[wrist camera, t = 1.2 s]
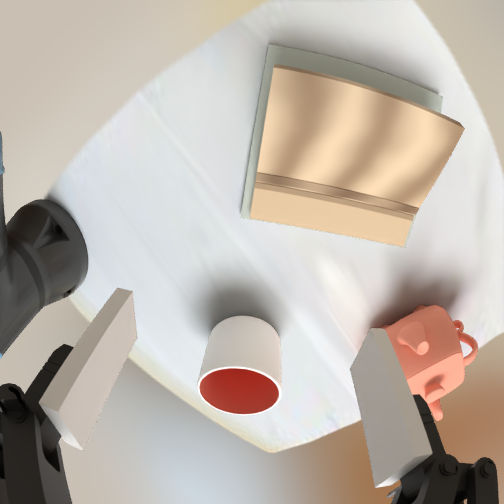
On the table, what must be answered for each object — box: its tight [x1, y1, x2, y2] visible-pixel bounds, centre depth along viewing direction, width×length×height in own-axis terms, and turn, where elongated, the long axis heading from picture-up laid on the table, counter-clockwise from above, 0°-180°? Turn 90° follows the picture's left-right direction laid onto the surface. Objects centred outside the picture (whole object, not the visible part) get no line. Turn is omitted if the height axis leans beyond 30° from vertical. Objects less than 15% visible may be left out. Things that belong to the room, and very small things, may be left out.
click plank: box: [255, 64, 465, 215], centre depth 25 cm, size 18×12×1 cm, turn 81°
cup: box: [197, 316, 282, 415], centre depth 36 cm, size 10×10×10 cm
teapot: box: [380, 305, 478, 421], centre depth 34 cm, size 15×17×13 cm
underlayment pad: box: [240, 44, 443, 248], centre depth 28 cm, size 20×19×2 cm
